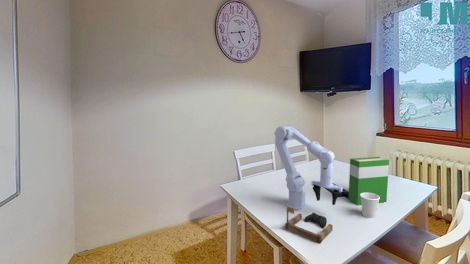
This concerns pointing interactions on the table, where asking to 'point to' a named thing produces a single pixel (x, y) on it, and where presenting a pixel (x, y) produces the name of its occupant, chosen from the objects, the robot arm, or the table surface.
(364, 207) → the dixie cup
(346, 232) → the table surface
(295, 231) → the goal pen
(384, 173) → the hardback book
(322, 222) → the gaming controller
